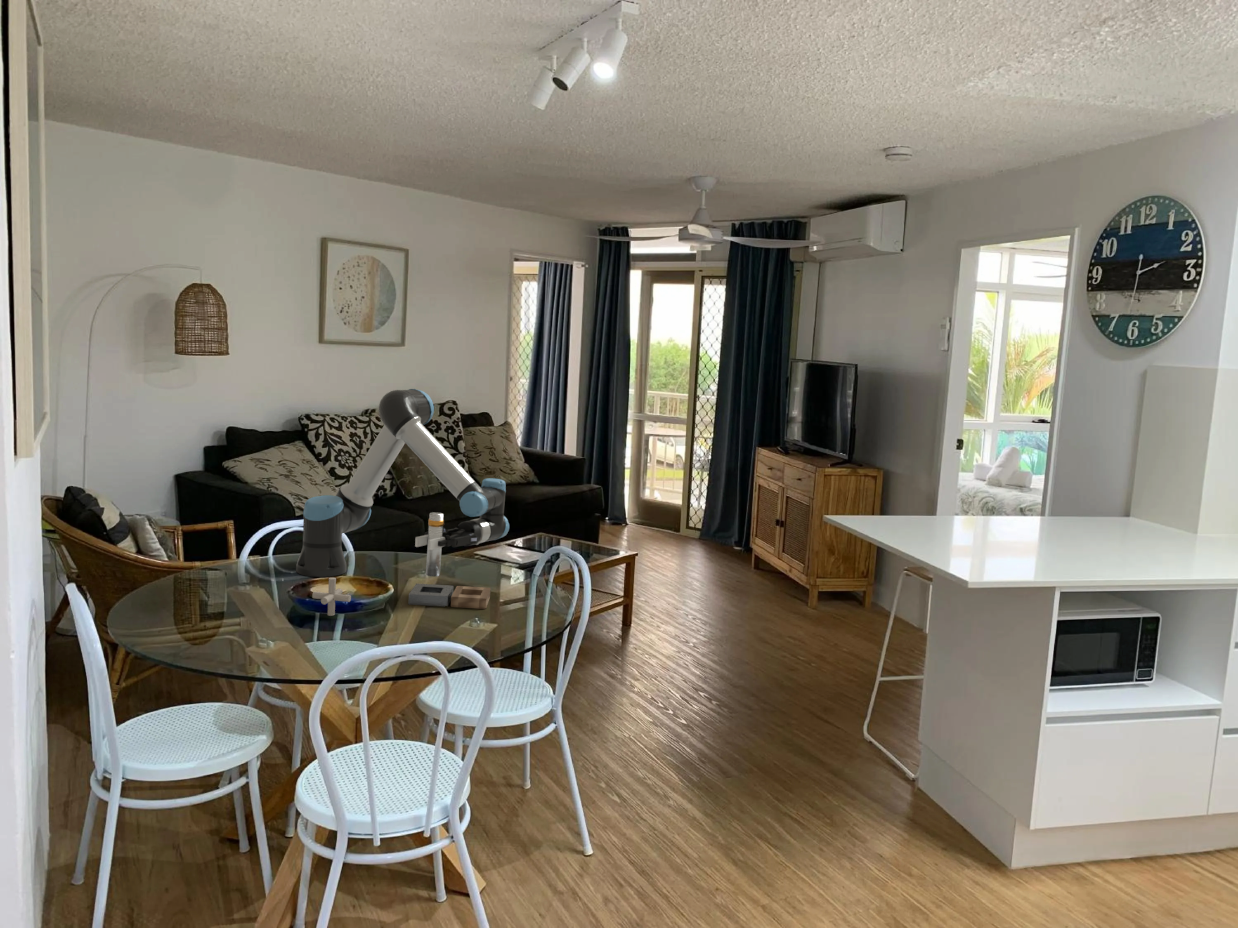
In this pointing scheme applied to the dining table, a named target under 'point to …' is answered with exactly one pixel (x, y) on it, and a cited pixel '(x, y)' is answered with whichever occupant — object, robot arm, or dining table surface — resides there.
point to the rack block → (470, 597)
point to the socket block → (430, 595)
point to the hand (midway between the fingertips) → (422, 543)
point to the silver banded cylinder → (435, 554)
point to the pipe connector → (331, 596)
